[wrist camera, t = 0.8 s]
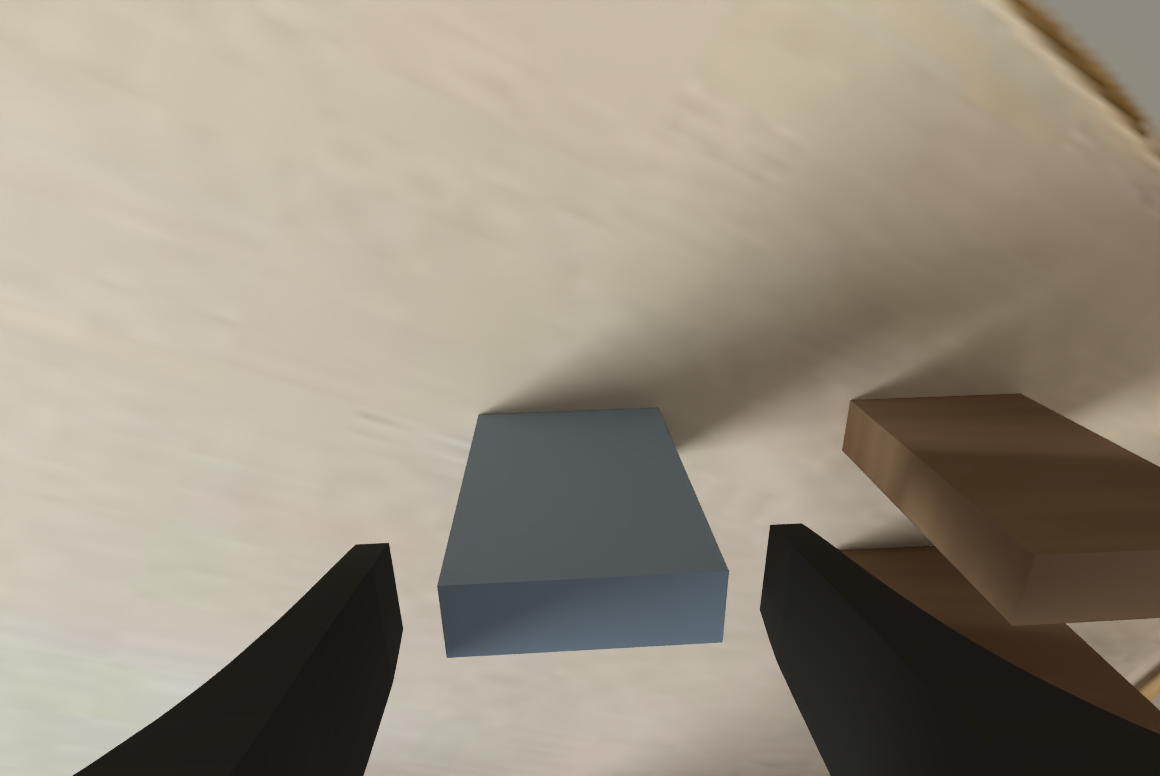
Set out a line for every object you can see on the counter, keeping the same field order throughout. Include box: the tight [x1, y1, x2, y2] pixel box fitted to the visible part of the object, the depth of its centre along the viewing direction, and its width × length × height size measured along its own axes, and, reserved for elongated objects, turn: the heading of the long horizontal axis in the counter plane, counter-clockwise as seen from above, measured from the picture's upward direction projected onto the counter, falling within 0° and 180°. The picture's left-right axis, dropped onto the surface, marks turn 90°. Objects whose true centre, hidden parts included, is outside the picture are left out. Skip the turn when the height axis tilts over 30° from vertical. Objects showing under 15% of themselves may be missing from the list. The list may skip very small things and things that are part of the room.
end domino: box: [437, 408, 729, 658], centre depth 14 cm, size 2×5×7 cm, turn 91°
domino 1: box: [842, 394, 1160, 626], centre depth 14 cm, size 2×5×7 cm, turn 91°
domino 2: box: [841, 546, 1160, 734], centre depth 16 cm, size 2×5×7 cm, turn 91°
